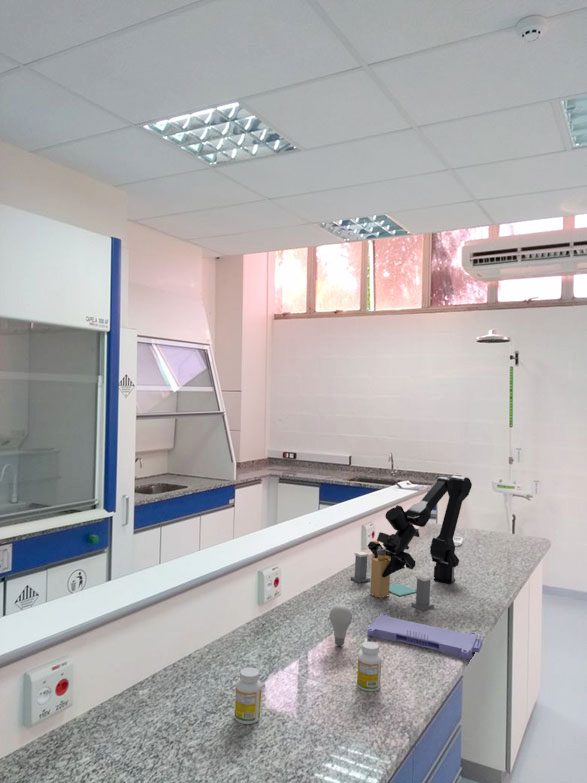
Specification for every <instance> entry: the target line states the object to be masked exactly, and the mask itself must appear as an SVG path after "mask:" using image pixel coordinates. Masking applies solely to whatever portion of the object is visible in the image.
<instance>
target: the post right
mask: <svg viewBox="0 0 587 783" xmlns="http://www.w3.org/2000/svg"><path fill="white" fill-rule="evenodd" d="M369 555H370V554H369V553H367V552H364V551H357V552H356V551H355V552H354V556H355V561H354V563H355V564H354V575H351V576H350V580H352V581H354V582H356V581H357V582H356V583H358V582H359V583H358V584H362V583H361V582H363V583H367V582H366V581H368V582H371V577H369V576H367V568H368V567H367V566H368V557H369Z"/></svg>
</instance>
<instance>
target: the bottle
mask: <svg viewBox="0 0 587 783" xmlns="http://www.w3.org/2000/svg"><path fill="white" fill-rule="evenodd" d="M377 554H378V558H375V557H373V558H372V559H371V567H370V568H371V569H370V586H369V587H370V589H369V590H370V592H369V593H371V594H373V595H372V596H374V595H375V596H374V597H376V596H378V597H382V598H384V597H383V596H386V597H388V596H387V595H389V596H390V592H389V586H390V585H391V584H390V582H391V580H390V579H391V574H390V575H388V576H386V577H385V578H383V577H382V574H383V572H384V571H385V569H386V567H387V566H388V564H389V563H390V559H389V558H385V555H386V551H385V550H377ZM371 594H370V595H371ZM378 597H377V598H378Z"/></svg>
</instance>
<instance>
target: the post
mask: <svg viewBox="0 0 587 783" xmlns="http://www.w3.org/2000/svg"><path fill="white" fill-rule="evenodd" d="M415 579H416V590H417V592H416V593H415V594H416V597H415V601H411V603H410V604H411V606H412V607H414V608H417V609H418V610H422V611H427V610H431V609H434V605H435V604H433V603H431V602H430V599H431V598H430V596H431V580H432V579H433V576H429V575H428V574H427V575H426V574H424V573H423V574H418V575H415Z"/></svg>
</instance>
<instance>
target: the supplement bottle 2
mask: <svg viewBox="0 0 587 783" xmlns="http://www.w3.org/2000/svg"><path fill="white" fill-rule="evenodd" d="M379 652H380V645H379V644H378V643H377V642H374V641H364V642H362V644H361V651H360V652H359V654H358V658H357V678H356V685H357V687H358V688H359V689H361V691H365V692H377V691H378V690H379V689H380V688H381V680H382V679H381V678H382V677H381V676H382V674H381V673H382V656H381V653H379Z"/></svg>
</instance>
